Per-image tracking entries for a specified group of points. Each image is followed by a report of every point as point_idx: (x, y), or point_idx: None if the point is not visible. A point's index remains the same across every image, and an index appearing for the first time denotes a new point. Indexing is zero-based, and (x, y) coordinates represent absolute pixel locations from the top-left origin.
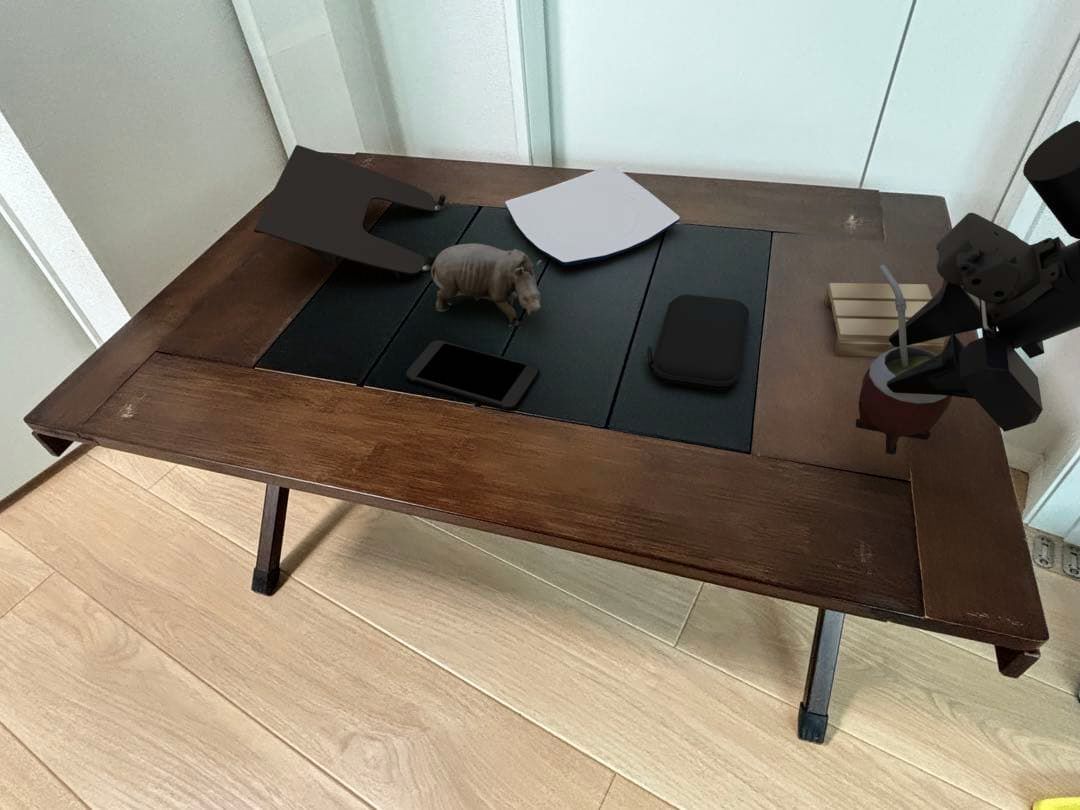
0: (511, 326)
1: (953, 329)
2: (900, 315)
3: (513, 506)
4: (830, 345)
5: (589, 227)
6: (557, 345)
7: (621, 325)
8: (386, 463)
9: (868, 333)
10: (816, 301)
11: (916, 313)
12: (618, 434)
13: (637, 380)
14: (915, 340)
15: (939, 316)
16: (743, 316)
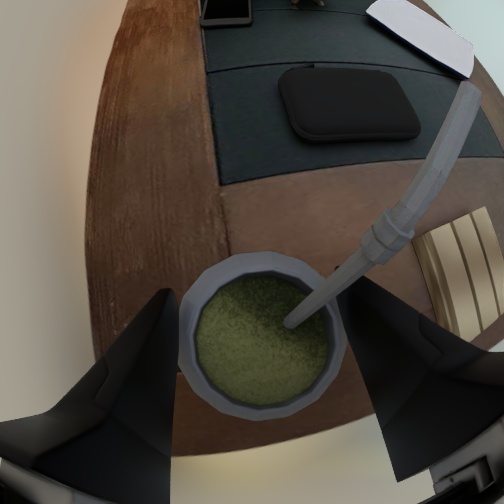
0: (290, 7)
1: (383, 411)
2: (353, 255)
3: (115, 67)
4: (422, 231)
5: (418, 33)
6: (287, 27)
7: (338, 54)
8: (140, 15)
9: (443, 262)
10: (466, 206)
11: (406, 307)
12: (202, 82)
13: (277, 74)
14: (347, 328)
15: (399, 377)
16: (401, 127)
